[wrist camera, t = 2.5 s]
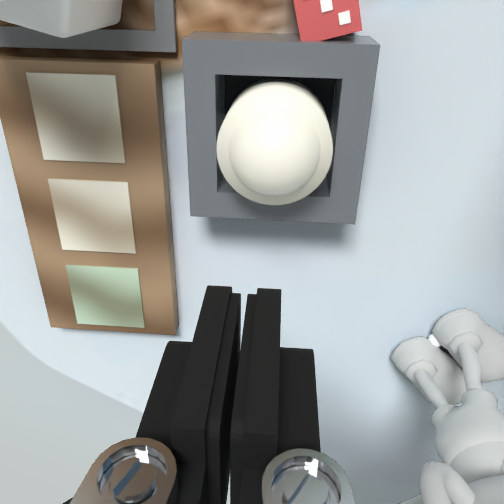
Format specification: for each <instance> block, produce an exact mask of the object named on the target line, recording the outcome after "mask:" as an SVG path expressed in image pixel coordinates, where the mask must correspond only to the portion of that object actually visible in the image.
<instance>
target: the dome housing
mask: <svg viewBox="0 0 504 504" xmlns="http://www.w3.org/2000/svg"><path fill="white" fill-rule="evenodd" d="M379 50H380V44H379V43H377V42H376V41H375V40H374V39H372V38H371V37H370V36H338V37H334V38H330V39H326V40H322V41H301V40H300V34H271V33H236V32H201V31H195V32H193V33H191V34H190V35H188V36H186V37H184V38H183V39H182V54H183V74H184V94H185V114H186V134H187V154H188V174H189V194H190V214H191V216H198V217H218V218H238V219H258V220H278V221H298V222H318V223H338V224H355V220H356V213H357V206H358V199H359V192H360V185H361V178H362V170H363V163H364V156H365V149H366V142H367V135H368V128H369V121H370V114H371V107H372V99H373V92H374V85H375V78H376V71H377V64H378V57H379ZM224 75H248V76H278V77H308V78H336V80H335V90H334V100H333V109H332V119H331V129H330V132H331V137H332V143H333V155H332V161H331V165H330V168H329V170H328V172H327V174H326V176H325V178H324V179H323V181H322V182H321V184H320V185H319V186H318V187H317V188H316V189H315V190H314V191H313V192H312V193H310V194H309V195H307V196H306V197H304V198H302V199H300V200H298V201H295V202H293V203H289V204H284V205H265V204H261V203H257V202H254V201H251V200H249V199H247V198H245V197H244V196H242V195H241V194H239V193H238V192H237V191H236V190H235V189H233V188H232V186H231V185H230V184H229V183H228V182H227V180H226V179H225V177H224V175H223V173H222V172H221V169H220V166H219V163H218V159H217V150H216V149H217V139H218V134H219V131H220V128H221V126H222V124H223V122H224V119H225V105H224Z"/></svg>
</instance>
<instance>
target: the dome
mask: <svg viewBox="0 0 504 504" xmlns="http://www.w3.org/2000/svg"><path fill="white" fill-rule="evenodd" d="M216 150H217V159H218V163H219V166H220V169H221V172H222V173H223V175H224V177H225V179H226V180H227V182H228V183H229V184H230V185H231V186H232V188H233V189H235V190H236V191H237V192H238V193H239V194H241V195H242V196H244V197H245V198H247V199H249V200H251V201H254V202H257V203H261V204H265V205H284V204H289V203H293V202H295V201H298V200H300V199H302V198H304V197H306V196H307V195H309V194H310V193H312V192H313V191H314V190H315V189H316V188H317V187H318V186H319V185H320V184H321V182H322V181H323V179H324V178H325V176H326V174H327V172H328V170H329V168H330V165H331V161H332V155H333V143H332V137H331V132H330V128H329V124H328V120H327V116H326V112H325V109H324V107H323V105H322V103H321V101H320V100H319V98H318V97H317V96H316V95H315V94H314V93H313V92H312V91H311V90H310V89H309V88H308V87H306V86H305V85H303V84H301V83H300V82H297V81H295V80H292V79H288V78H280V77H275V78H267V79H263V80H260V81H257V82H255V83H253V84H251V85H249V86H248V87H246V88H245V89H244V90H243V91H242V92H241V93H240V94H239V95H238V96H237V97H236V98H235V100H234V101H233V103H232V105H231V107H230V109H229V111H228V113H227V115H226V117H225V119H224V122H223V124H222V126H221V128H220V131H219V134H218V139H217V149H216Z"/></svg>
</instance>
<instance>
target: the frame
mask: <svg viewBox="0 0 504 504" xmlns="http://www.w3.org/2000/svg"><path fill="white" fill-rule="evenodd" d="M153 3H154V17H155V30H131V29H96V30H92V31H89V32H85V33H81V34H78V35H74V36H70V37H67V38H60V37H57V36H53V35H50V34H46V33H43V32H40V31H36V30H33V29H29V28H26V27H22V26H0V47H19V48H51V49H83V50H115V51H147V52H177V34H176V16H175V0H153Z"/></svg>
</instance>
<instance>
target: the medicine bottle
mask: <svg viewBox="0 0 504 504" xmlns="http://www.w3.org/2000/svg"><path fill="white" fill-rule="evenodd" d="M122 2H123V0H0V20H2V21H5V22H9V23H12V24H16V25H19V26H22V27H26V28H29V29H33V30H36V31H40V32H43V33H46V34H50V35H53V36H57V37H60V38H67V37H70V36H74V35H78V34H81V33H85V32H89V31H92V30H96V29H100V28H103V27H107V26H111V25H114V24H117V23H118V22H119V21H120V18H121V11H122Z"/></svg>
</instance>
